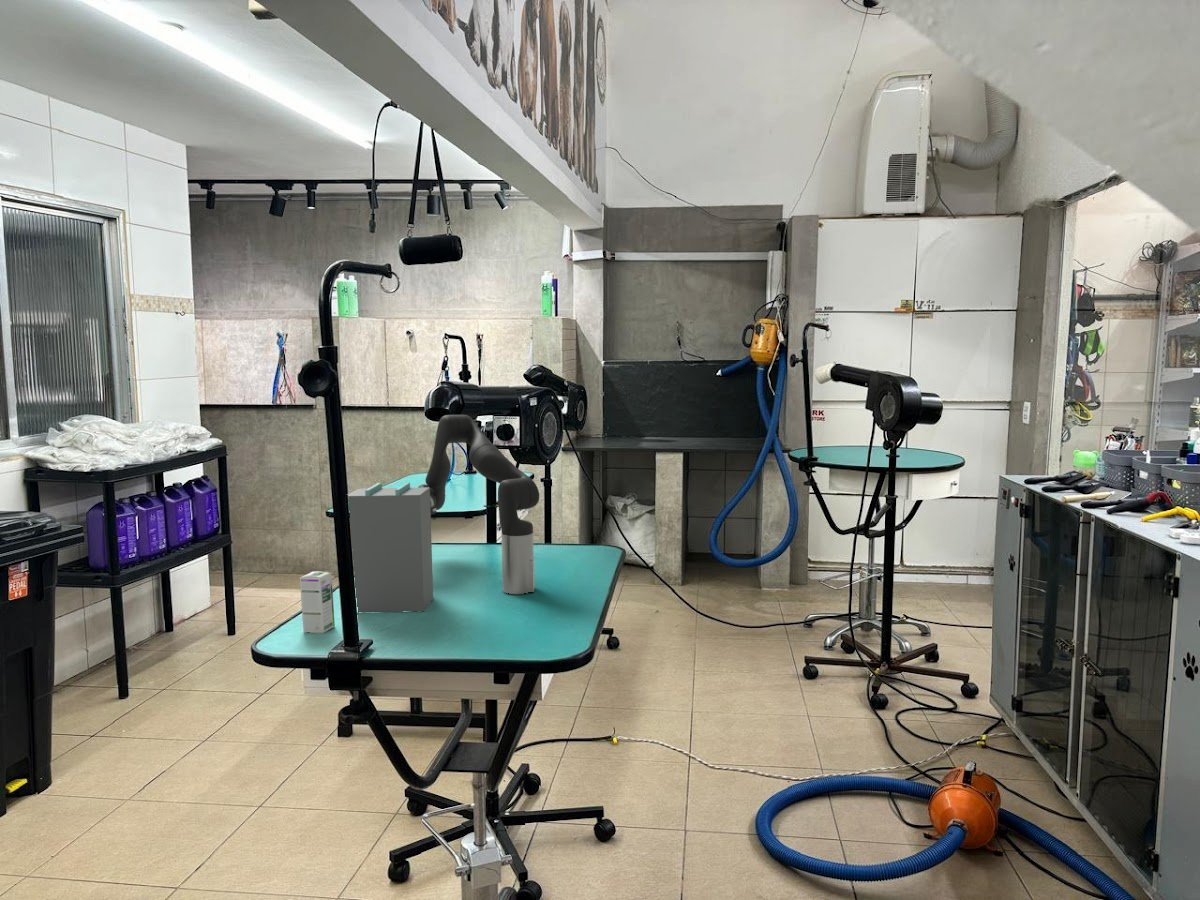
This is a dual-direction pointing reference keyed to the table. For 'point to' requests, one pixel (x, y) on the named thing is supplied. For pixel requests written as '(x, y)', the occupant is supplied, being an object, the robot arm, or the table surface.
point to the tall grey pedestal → (391, 548)
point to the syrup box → (317, 602)
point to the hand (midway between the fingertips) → (409, 514)
